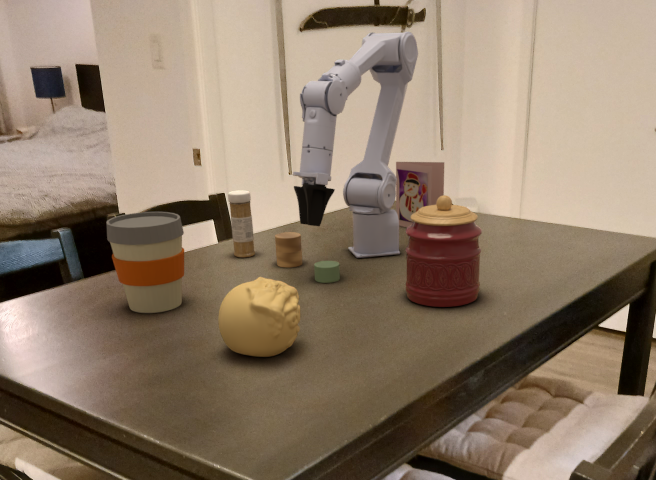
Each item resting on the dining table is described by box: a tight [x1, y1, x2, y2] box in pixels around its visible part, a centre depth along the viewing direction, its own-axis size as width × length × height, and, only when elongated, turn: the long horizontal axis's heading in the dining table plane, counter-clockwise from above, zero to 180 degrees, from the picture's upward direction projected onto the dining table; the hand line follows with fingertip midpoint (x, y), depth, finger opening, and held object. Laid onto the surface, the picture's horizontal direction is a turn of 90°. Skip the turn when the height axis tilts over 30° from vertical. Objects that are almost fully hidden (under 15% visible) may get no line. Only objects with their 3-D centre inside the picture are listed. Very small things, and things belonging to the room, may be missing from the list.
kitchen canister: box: [405, 195, 483, 308], centre depth 131 cm, size 13×13×18 cm
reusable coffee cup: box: [106, 211, 185, 314], centre depth 131 cm, size 13×13×15 cm
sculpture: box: [217, 276, 301, 358], centre depth 111 cm, size 11×12×11 cm
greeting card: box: [395, 161, 445, 229], centre depth 180 cm, size 11×7×15 cm, turn 43°
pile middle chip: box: [274, 231, 303, 253], centre depth 154 cm, size 5×5×3 cm
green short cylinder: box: [313, 260, 341, 284], centre depth 145 cm, size 5×5×3 cm
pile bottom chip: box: [275, 249, 303, 269], centre depth 155 cm, size 5×5×3 cm
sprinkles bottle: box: [227, 189, 256, 258], centre depth 160 cm, size 5×5×14 cm
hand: (309, 225), depth 142 cm, fingers open, 7 cm apart
